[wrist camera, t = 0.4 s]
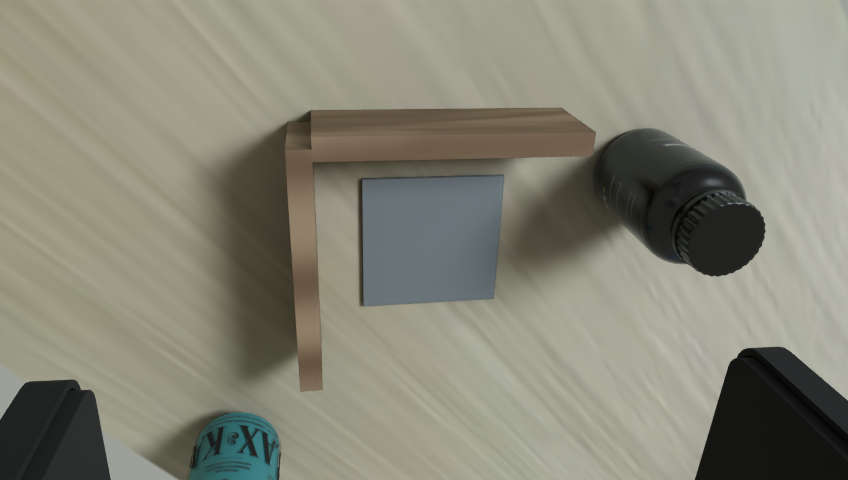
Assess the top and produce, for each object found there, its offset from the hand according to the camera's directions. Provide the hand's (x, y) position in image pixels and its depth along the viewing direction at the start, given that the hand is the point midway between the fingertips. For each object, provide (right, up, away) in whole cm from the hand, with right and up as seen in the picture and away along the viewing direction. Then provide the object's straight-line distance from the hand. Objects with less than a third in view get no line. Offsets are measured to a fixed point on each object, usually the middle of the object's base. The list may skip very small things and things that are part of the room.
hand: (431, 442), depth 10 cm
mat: (0, +3, +38) cm, 38 cm away
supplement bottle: (+15, +8, +38) cm, 42 cm away
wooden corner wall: (0, +4, +37) cm, 38 cm away
